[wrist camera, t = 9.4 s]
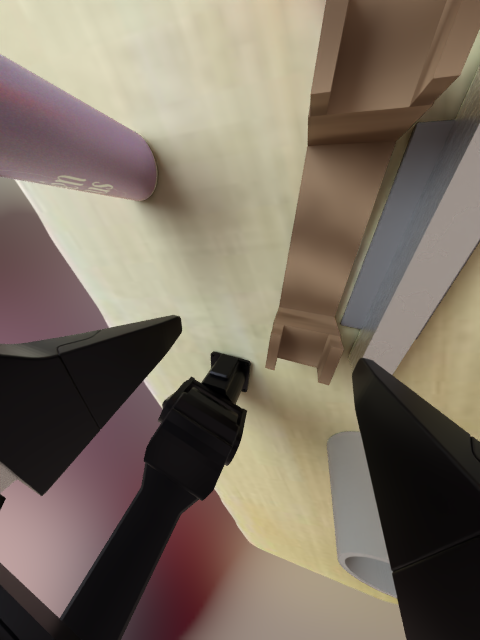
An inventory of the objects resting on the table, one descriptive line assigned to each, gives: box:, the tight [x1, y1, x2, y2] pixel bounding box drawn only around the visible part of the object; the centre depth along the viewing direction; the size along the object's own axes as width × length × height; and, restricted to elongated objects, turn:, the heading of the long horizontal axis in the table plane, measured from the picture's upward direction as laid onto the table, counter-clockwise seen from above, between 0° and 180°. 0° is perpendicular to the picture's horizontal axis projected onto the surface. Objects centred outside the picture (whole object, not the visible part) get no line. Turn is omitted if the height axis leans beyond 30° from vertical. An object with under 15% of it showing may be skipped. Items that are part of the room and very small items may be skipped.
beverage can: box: [0, 54, 158, 201], centre depth 13 cm, size 6×6×15 cm
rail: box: [348, 65, 480, 375], centre depth 14 cm, size 24×3×3 cm, turn 177°
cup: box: [327, 431, 397, 598], centre depth 22 cm, size 9×9×12 cm
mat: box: [340, 120, 480, 339], centre depth 15 cm, size 16×7×1 cm, turn 177°
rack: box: [265, 0, 480, 385], centre depth 14 cm, size 24×6×7 cm, turn 177°
